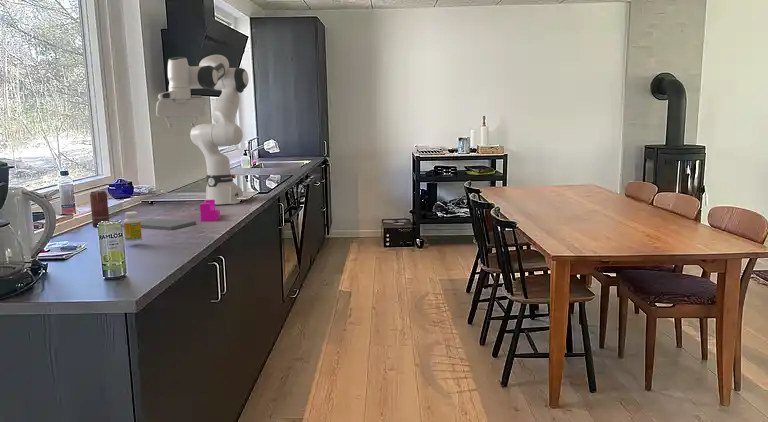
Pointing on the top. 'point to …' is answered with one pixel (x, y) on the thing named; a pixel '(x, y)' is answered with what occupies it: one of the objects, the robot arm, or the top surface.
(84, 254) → the top surface
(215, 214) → the toy block
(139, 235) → the supplement bottle
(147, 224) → the slate pad
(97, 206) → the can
